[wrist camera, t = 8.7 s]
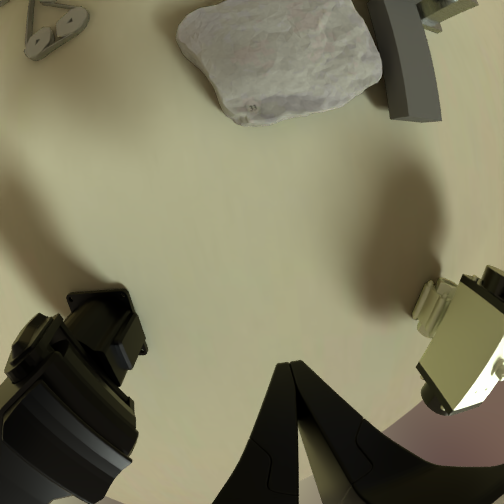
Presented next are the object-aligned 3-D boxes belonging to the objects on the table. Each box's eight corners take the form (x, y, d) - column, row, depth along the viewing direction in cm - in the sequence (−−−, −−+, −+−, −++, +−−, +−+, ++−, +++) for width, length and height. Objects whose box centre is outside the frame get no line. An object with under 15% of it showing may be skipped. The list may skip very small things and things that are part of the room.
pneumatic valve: (387, 348, 24) (443, 438, 13) (435, 237, 20) (536, 299, 9) (424, 348, 25) (480, 423, 13) (469, 249, 21) (555, 304, 10)
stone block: (369, 86, 18) (314, -16, 13) (403, 86, 14) (336, -39, 9) (238, 145, 20) (172, 38, 15) (243, 157, 16) (159, 21, 11)
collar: (390, 119, 16) (436, 112, 11) (353, -33, 11) (378, -65, 6) (421, 122, 16) (469, 119, 11) (385, -25, 11) (414, -52, 6)
